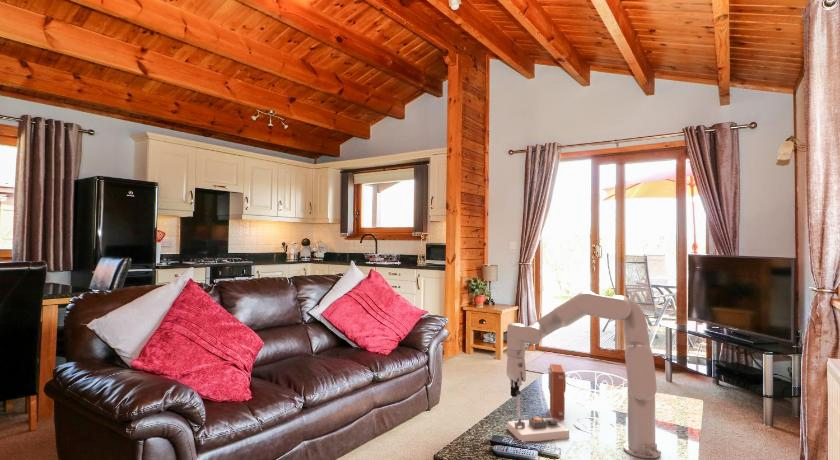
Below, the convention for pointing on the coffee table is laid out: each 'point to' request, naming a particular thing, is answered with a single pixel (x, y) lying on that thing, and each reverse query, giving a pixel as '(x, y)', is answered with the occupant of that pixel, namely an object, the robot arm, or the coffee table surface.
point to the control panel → (557, 391)
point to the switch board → (537, 430)
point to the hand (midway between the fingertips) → (514, 396)
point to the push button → (537, 419)
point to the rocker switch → (552, 421)
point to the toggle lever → (519, 408)
